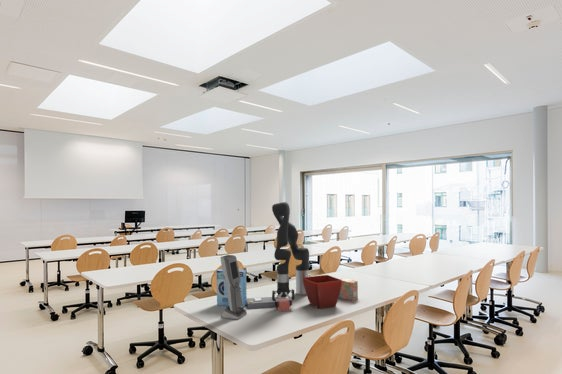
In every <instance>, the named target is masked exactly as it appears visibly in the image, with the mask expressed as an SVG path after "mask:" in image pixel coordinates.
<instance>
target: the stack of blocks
mask: <svg viewBox="0 0 562 374" xmlns="http://www.w3.org/2000/svg"><path fill="white" fill-rule="evenodd" d="M339 279H340V280H342V282H341V289H340V294H339V297H338V299H344V300H349V301H356V300H358V299H359V296H358V295H359V294H358V290H359V286H358V284H359V283H358V280H353V279H349V278H348V279H347V278H339Z"/></svg>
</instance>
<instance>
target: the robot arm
mask: <svg viewBox="0 0 562 374" xmlns="http://www.w3.org/2000/svg"><path fill="white" fill-rule="evenodd" d="M271 210H272V213H273V216H274V217H275V219H276V221H277V222H278V224H279V227H278V230H277V233H276V246H275V250H274V258H275V260H276V261H284V262H282V263H278V264H277V272H276V273H277V277H276V279H277V280H276V282H277V283H276V288H277V290H274V289H273V290H272V292H271V297H272V300H273V301H275V306H276V308H277V309H278V299H279V298H280V297H286V298H287V299H288V300H289V302H290V308H291V307H292V305H293V300H295V299H296V297H295V294H297V295H299V296H301V295H302V296H304V295H305V296H307V294H306V291H305V287H304V282H303V278H304V277H309V267H310V266H309V265H310V250H309V248H308V247H299V246H298V243H297V242H298V238H299V233H298V230H297V228H296V226H295V225H294V224H293V223H292V222H290V214H291V212H290V211H291V209H290V205H289V203H288V202H287V201H283V202H279V203H274V204H272V206H271ZM288 245H289V248H290V249H289V248H283V247H287V246H288ZM291 256H293V259H295V260H297V261H301V263H300V264H297V265H296V266H295V289H293V288H291V289H290V275H289V273H290V272H289V267H290V260H291ZM295 291H296V292H295ZM290 293H291V296H290ZM275 295H277V297H276V298H275ZM278 295H279V296H278Z"/></svg>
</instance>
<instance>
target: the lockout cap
mask: <svg viewBox="0 0 562 374" xmlns="http://www.w3.org/2000/svg"><path fill="white" fill-rule="evenodd" d="M289 300H290V299H289V298H288V297H286V299H278V308H277V309H278V311H279V312H280V311H281V312H282V311H283V312H284V311H290V310H291V307H290V302H289Z"/></svg>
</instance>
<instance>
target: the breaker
mask: <svg viewBox="0 0 562 374" xmlns="http://www.w3.org/2000/svg"><path fill="white" fill-rule="evenodd" d="M253 298H254V301H255V302H259V301H261V298H262V297H253Z"/></svg>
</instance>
